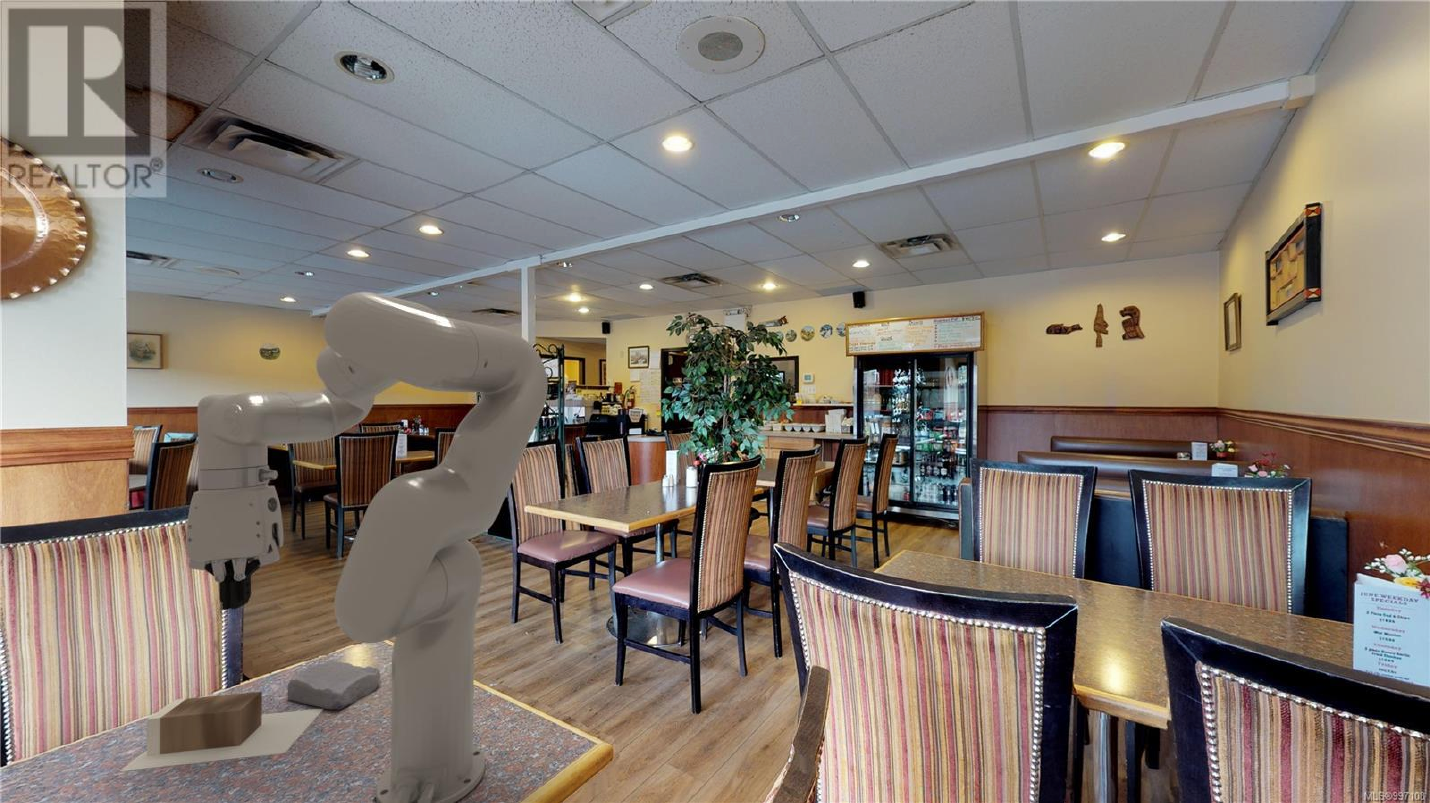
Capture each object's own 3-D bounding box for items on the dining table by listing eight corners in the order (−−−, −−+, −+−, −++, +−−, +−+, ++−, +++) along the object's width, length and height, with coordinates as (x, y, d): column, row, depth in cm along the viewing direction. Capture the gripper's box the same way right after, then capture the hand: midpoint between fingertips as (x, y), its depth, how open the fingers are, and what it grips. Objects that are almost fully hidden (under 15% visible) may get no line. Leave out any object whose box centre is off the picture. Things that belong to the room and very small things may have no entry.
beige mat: (284, 755, 75) (284, 752, 75) (119, 774, 71) (119, 771, 71) (324, 710, 86) (324, 708, 86) (182, 724, 81) (182, 722, 81)
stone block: (335, 685, 96) (277, 700, 87) (342, 656, 97) (286, 668, 88) (387, 698, 93) (332, 716, 83) (393, 668, 94) (340, 682, 84)
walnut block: (240, 710, 76) (146, 719, 74) (239, 745, 76) (146, 755, 74) (261, 691, 81) (174, 699, 79) (261, 724, 81) (174, 733, 79)
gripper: (306, 474, 83) (308, 592, 83) (192, 478, 80) (193, 602, 80) (278, 480, 76) (280, 610, 76) (151, 486, 73) (153, 621, 73)
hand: (235, 605), depth 78 cm, fingers closed
